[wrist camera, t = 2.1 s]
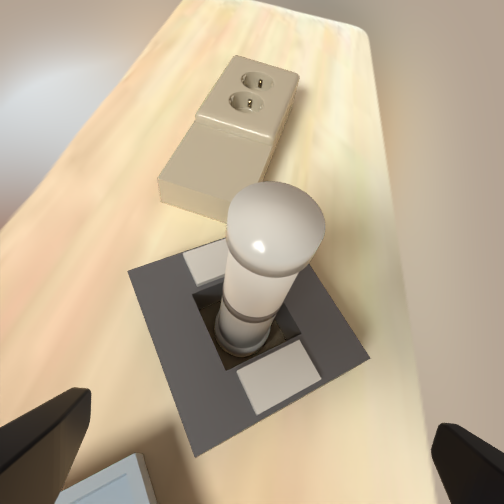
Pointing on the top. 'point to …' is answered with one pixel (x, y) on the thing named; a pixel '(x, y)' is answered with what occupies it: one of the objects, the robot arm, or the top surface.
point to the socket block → (251, 371)
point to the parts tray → (113, 485)
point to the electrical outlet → (229, 138)
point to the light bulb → (263, 260)
